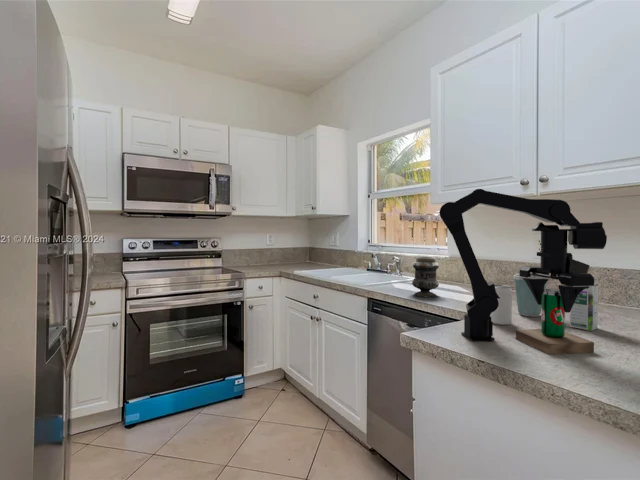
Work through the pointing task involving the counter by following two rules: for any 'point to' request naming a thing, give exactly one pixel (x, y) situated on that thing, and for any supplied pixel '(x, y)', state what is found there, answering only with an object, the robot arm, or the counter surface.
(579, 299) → the syrup box
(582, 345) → the walnut base
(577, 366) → the counter surface
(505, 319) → the can
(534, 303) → the disposable coffee cup
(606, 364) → the counter surface
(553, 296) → the soda can
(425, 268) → the apothecary jar
